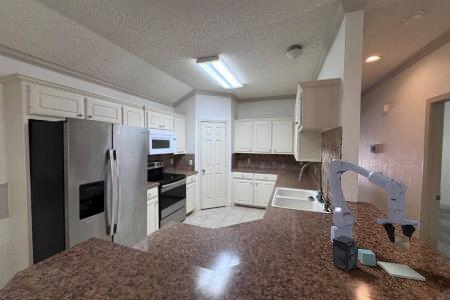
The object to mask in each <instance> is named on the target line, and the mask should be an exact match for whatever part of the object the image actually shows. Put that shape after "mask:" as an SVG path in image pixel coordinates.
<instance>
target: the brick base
mask: <svg viewBox="0 0 450 300" xmlns="http://www.w3.org/2000/svg"><path fill="white" fill-rule="evenodd" d="M394 238H395V242H394V243H392V242H390V241H389V244H390V245H391V246H393V247H394V248H396V249H397V248H398V249H407V250H410V249H411V248H410V242H409V237H407V236H405V235H403V233H394Z"/></svg>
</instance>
